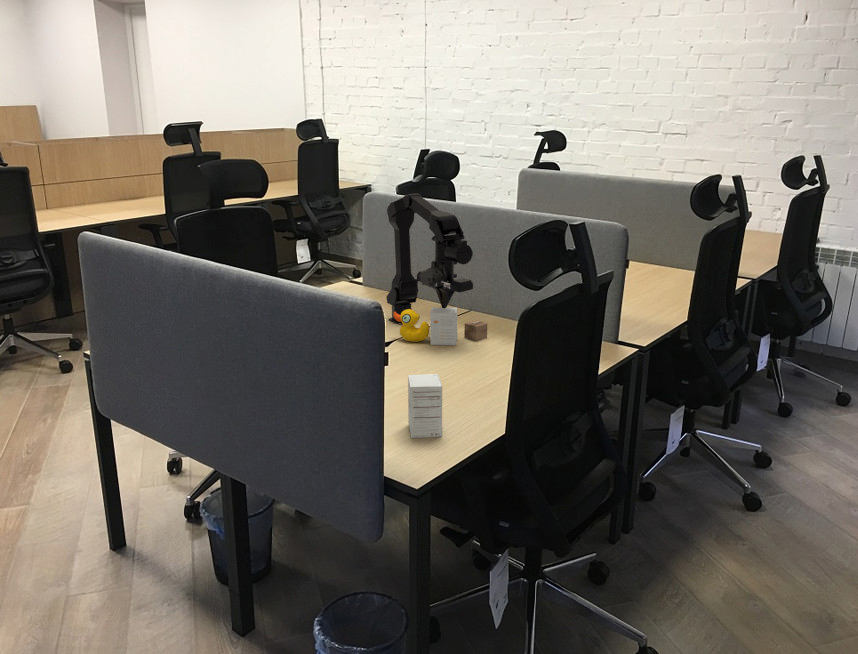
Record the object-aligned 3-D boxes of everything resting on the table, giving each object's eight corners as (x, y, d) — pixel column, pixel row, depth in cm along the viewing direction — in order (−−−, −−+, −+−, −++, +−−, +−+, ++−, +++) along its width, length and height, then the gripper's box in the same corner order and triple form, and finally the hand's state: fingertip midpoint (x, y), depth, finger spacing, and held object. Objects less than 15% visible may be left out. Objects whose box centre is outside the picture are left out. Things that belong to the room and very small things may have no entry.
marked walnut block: (463, 338, 233) (464, 321, 232) (474, 334, 237) (475, 318, 235) (476, 342, 230) (476, 325, 228) (487, 338, 233) (487, 322, 232)
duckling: (391, 342, 230) (390, 310, 226) (396, 336, 234) (396, 306, 231) (426, 345, 227) (426, 313, 224) (431, 339, 232) (431, 308, 228)
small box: (457, 339, 232) (458, 307, 228) (456, 345, 226) (456, 312, 223) (431, 338, 232) (431, 306, 229) (430, 345, 227) (430, 311, 224)
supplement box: (407, 424, 175) (407, 374, 171) (439, 423, 176) (439, 373, 172) (409, 438, 168) (409, 386, 164) (442, 437, 169) (443, 385, 165)
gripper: (403, 256, 222) (403, 306, 227) (447, 267, 209) (447, 320, 214) (430, 250, 229) (430, 299, 234) (474, 261, 217) (473, 312, 222)
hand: (444, 308), depth 226 cm, fingers closed
